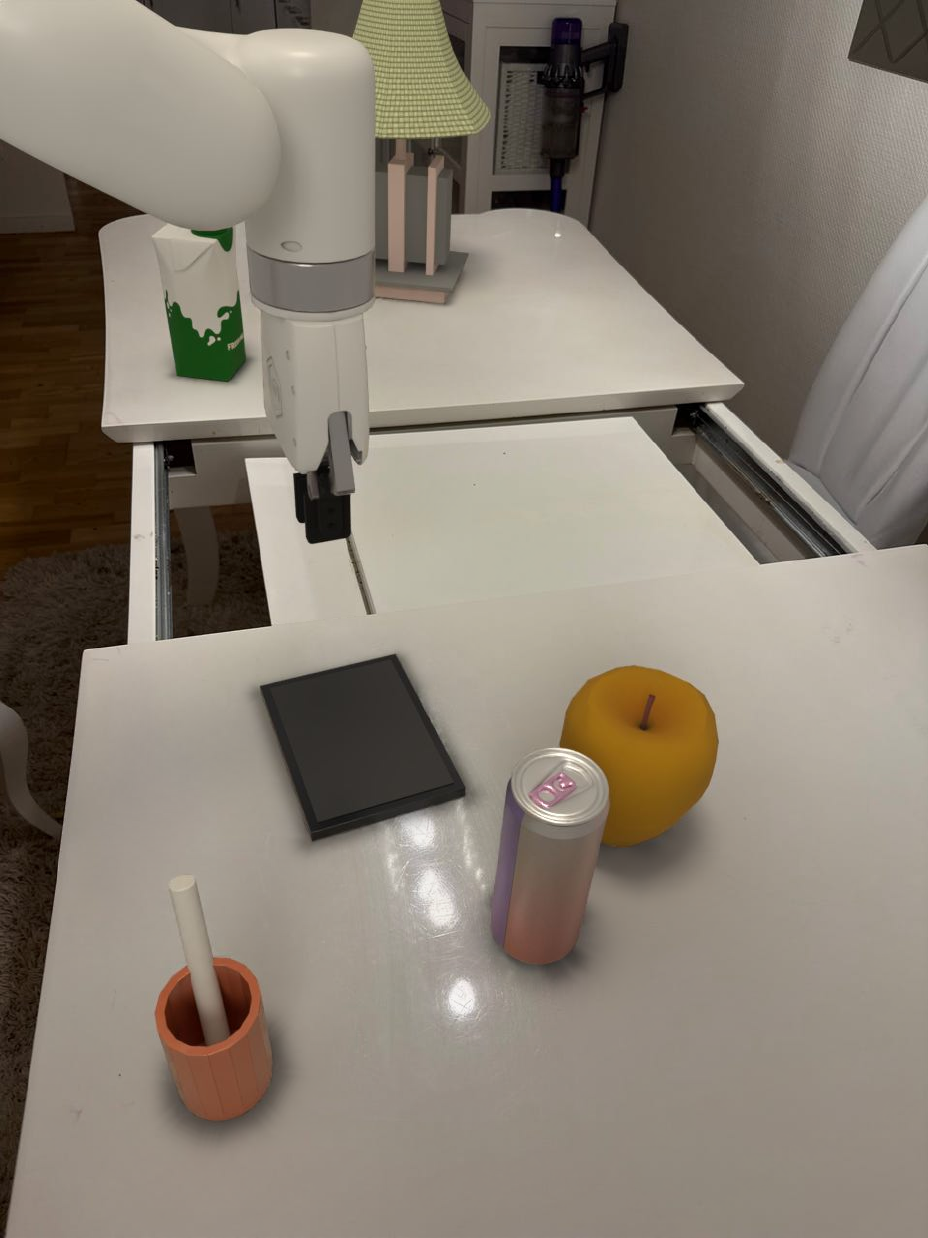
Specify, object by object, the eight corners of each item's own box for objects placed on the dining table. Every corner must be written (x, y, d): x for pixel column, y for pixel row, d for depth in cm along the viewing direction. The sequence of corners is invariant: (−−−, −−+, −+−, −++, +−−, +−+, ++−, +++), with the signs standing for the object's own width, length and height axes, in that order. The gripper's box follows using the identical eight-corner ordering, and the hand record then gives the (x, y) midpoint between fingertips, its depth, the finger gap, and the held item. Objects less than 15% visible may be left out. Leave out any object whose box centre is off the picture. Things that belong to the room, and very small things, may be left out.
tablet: (311, 841, 67) (310, 832, 66) (260, 694, 78) (259, 684, 77) (465, 796, 71) (466, 786, 70) (395, 661, 82) (395, 652, 81)
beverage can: (471, 923, 62) (485, 777, 53) (534, 875, 65) (558, 729, 56) (533, 988, 59) (561, 845, 49) (596, 933, 62) (634, 789, 52)
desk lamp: (489, 260, 161) (506, -18, 135) (465, 323, 140) (481, 7, 114) (344, 246, 163) (335, -30, 138) (299, 306, 142) (278, -9, 116)
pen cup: (186, 1136, 51) (163, 1072, 46) (171, 1046, 55) (148, 976, 50) (283, 1099, 53) (271, 1033, 48) (261, 1014, 57) (248, 944, 52)
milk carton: (233, 385, 120) (214, 226, 108) (166, 377, 121) (139, 218, 108) (254, 357, 127) (239, 204, 114) (191, 350, 128) (169, 197, 115)
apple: (661, 907, 64) (701, 785, 56) (521, 839, 68) (540, 716, 59) (710, 799, 71) (752, 678, 63) (582, 744, 75) (605, 623, 67)
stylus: (213, 1080, 53) (169, 893, 48) (210, 1062, 54) (167, 878, 49) (238, 1071, 53) (197, 885, 48) (234, 1053, 54) (193, 870, 50)
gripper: (223, 236, 60) (247, 481, 72) (283, 332, 49) (301, 604, 61) (335, 228, 62) (341, 467, 74) (417, 318, 51) (409, 582, 63)
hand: (323, 527), depth 67 cm, fingers closed
